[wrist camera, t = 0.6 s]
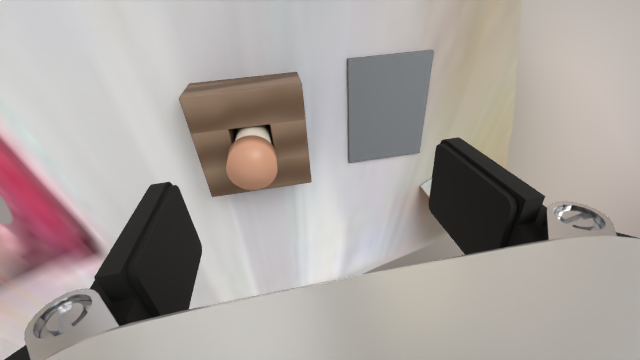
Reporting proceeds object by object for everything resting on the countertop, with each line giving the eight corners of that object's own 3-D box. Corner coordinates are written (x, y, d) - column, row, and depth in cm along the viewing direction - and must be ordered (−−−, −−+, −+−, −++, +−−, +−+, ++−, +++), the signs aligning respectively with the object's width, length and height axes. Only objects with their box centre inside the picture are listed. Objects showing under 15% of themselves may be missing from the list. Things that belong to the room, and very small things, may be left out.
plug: (229, 113, 40) (220, 150, 31) (270, 108, 41) (273, 143, 32) (238, 149, 44) (232, 193, 34) (276, 144, 44) (280, 186, 35)
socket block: (189, 83, 38) (178, 98, 33) (296, 71, 40) (301, 84, 35) (217, 174, 46) (212, 196, 41) (306, 161, 48) (311, 182, 43)
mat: (347, 58, 40) (348, 59, 40) (431, 49, 41) (433, 50, 41) (348, 161, 49) (349, 162, 48) (417, 151, 50) (419, 152, 50)
